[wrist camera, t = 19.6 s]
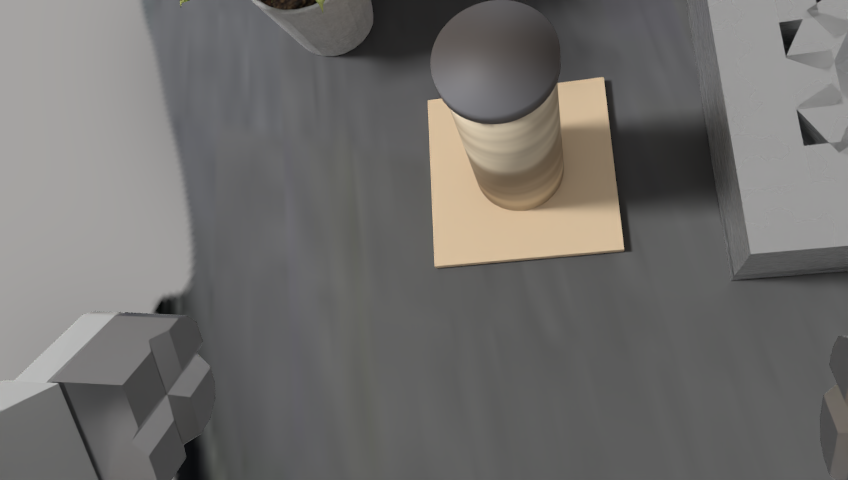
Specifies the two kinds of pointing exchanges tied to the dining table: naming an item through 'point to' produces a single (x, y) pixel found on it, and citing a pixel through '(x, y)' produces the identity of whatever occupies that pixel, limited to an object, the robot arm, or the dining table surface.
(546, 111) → the beige and grey cylinder
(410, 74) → the dining table surface
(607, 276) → the dining table surface
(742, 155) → the bore housing
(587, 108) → the cork mat
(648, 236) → the dining table surface
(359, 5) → the house plant
